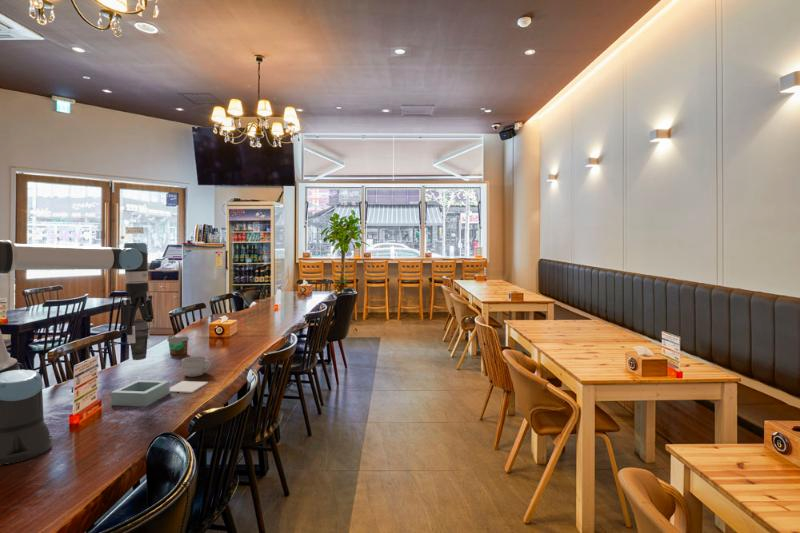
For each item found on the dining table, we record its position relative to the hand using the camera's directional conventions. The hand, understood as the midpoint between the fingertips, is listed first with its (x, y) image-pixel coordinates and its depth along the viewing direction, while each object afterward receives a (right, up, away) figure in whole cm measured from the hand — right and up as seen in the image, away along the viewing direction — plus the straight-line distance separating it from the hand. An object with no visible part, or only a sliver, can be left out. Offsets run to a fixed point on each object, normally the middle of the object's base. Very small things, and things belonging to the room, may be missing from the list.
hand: (138, 340), depth 165 cm
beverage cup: (0, -7, 0) cm, 7 cm away
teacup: (+8, -22, +31) cm, 39 cm away
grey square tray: (0, -23, +2) cm, 23 cm away
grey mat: (+12, -23, +15) cm, 29 cm away
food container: (-21, -20, +66) cm, 72 cm away
